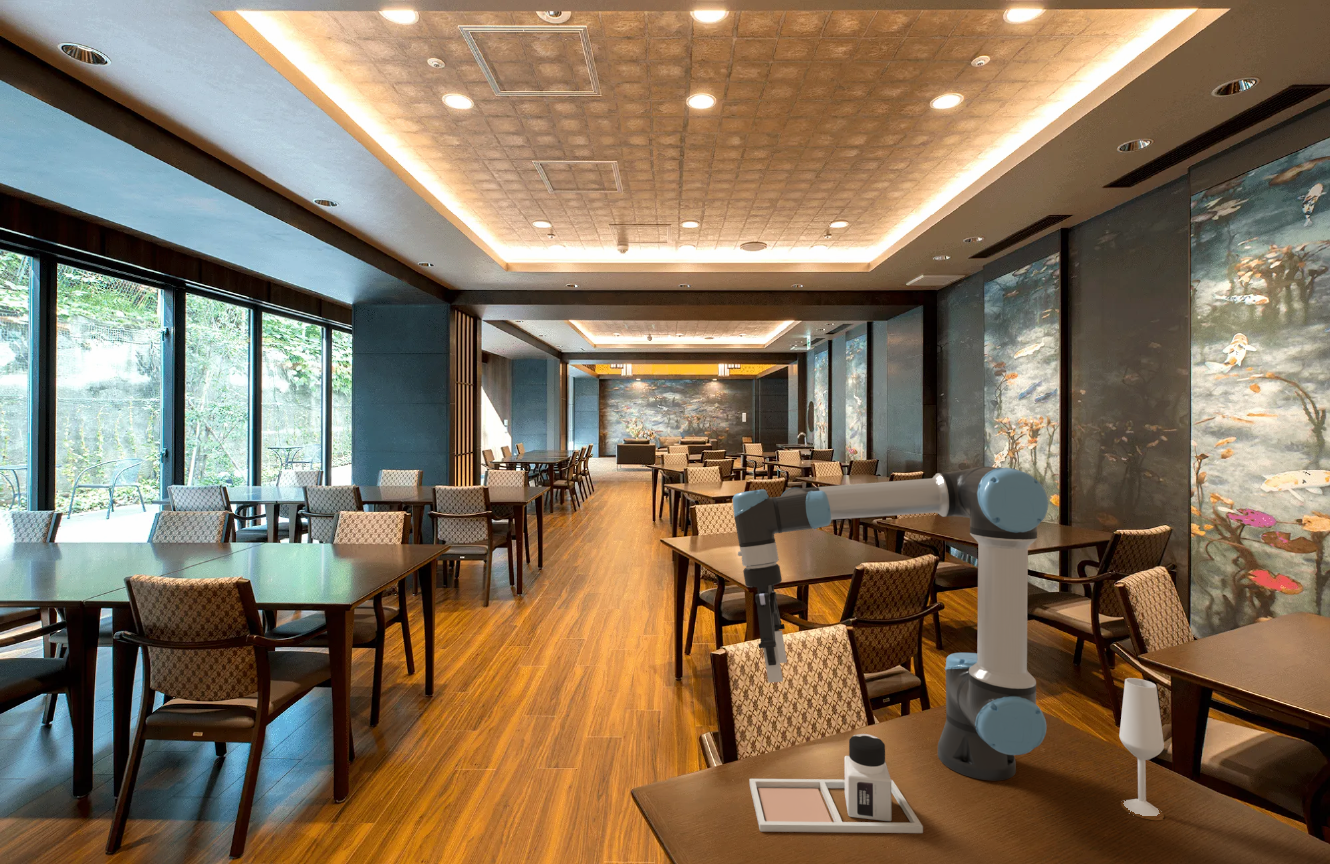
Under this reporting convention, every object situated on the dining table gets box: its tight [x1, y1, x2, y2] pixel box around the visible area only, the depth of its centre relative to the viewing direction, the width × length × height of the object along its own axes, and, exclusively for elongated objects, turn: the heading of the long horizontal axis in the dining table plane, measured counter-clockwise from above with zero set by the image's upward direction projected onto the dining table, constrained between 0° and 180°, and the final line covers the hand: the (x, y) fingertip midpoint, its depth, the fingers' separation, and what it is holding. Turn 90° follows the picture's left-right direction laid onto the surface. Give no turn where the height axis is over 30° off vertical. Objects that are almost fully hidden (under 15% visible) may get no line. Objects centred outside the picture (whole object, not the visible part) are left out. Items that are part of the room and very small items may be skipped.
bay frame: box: [749, 778, 924, 834], centre depth 116 cm, size 29×15×1 cm, turn 89°
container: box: [844, 733, 893, 822], centre depth 116 cm, size 8×8×13 cm
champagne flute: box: [1119, 677, 1165, 816], centre depth 116 cm, size 7×7×24 cm
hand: (778, 671), depth 123 cm, fingers open, 13 cm apart
